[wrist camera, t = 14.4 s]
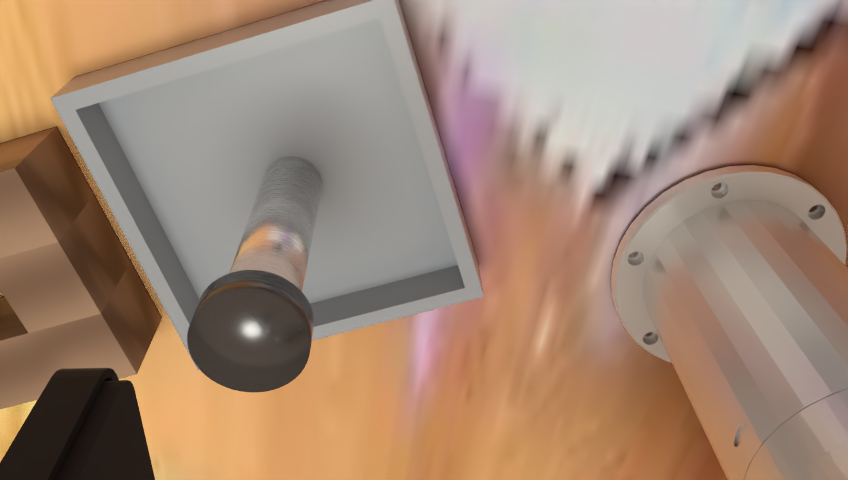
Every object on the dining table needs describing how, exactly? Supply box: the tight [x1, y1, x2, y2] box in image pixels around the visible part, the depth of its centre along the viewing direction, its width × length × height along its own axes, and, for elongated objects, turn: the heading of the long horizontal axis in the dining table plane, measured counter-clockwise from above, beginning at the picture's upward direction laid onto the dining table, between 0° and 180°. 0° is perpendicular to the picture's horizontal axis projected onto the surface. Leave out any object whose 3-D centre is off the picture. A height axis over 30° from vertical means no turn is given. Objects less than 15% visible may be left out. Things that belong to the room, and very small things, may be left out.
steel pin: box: [187, 156, 323, 392], centre depth 35 cm, size 4×4×14 cm
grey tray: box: [50, 0, 484, 370], centre depth 40 cm, size 16×16×3 cm
